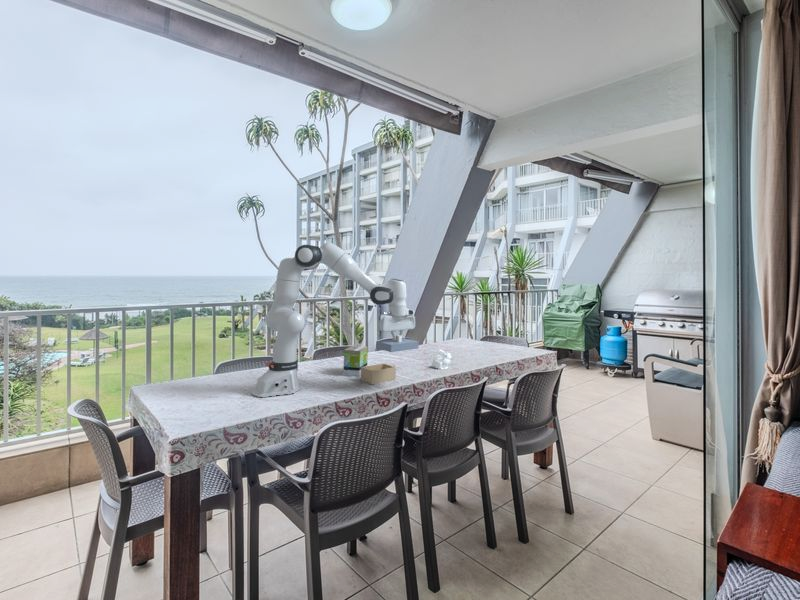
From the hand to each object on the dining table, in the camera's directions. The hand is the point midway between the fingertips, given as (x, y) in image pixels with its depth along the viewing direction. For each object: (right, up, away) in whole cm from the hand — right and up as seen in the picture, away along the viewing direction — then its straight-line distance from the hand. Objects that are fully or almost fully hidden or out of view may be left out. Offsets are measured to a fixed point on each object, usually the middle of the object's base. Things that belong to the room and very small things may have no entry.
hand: (397, 339), depth 196 cm
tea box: (-24, -23, +30) cm, 44 cm away
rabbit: (+27, -22, +43) cm, 56 cm away
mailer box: (-10, -23, +15) cm, 29 cm away
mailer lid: (0, -5, 0) cm, 4 cm away
